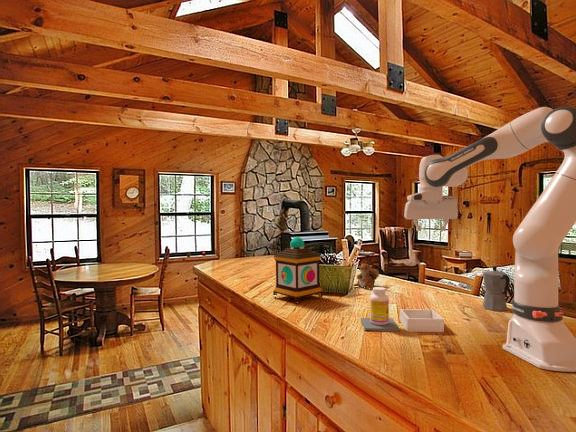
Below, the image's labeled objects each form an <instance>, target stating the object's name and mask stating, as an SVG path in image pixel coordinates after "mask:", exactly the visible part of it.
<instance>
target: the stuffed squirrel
mask: <svg viewBox="0 0 576 432" xmlns="http://www.w3.org/2000/svg"><path fill="white" fill-rule="evenodd" d="M372 267H373V265H372V264H368V263H361V265H360V268H358V271H359V272H360V273H359V274H357V275H356V279H357V282H356V283H354V284H353V285H352V287H353V286H361V287H360V288H362V287H365V288H364V289H366V288H367V289H366V290H370V289H369V288H372V287H373V286H374V285H375V282H376V280H377V278H379V277H380V275H379V274H380V271H378V270H377V268H376V269H375V268H372ZM373 288H374V287H373ZM373 288H372V289H373Z"/></svg>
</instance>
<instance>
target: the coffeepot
mask: <svg viewBox="0 0 576 432" xmlns="http://www.w3.org/2000/svg"><path fill="white" fill-rule="evenodd" d="M497 268H498V266H492V270H486V271H482V278H483V284H484V285H483V286H484V288H485V293H484V297H483V302H482V308H483V309H484V308H485V309H484V310H488V311H491V310H492V312H505V311H507V310H508V307H507V305H508V304H507V300H506V296H505V295H507V293H508V291H509V287H510V283H511V279H510V277H509V275H508V274H507V273H505V272H502V271H498V270H497Z"/></svg>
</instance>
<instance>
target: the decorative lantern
mask: <svg viewBox="0 0 576 432" xmlns="http://www.w3.org/2000/svg"><path fill="white" fill-rule="evenodd" d="M273 258H274V261H275V287H274V289H273V293H272V294H273V295H277V296H278V295H282V296H286V297H290V298H294V302H295V303H296V302H298V303H299V302H300V299H301V298H305V297H308V296H309V297H310V296H312V295H314V296H315V295H318V297H322V298H323V294H324V293H323V290H322V288H321V286H320V261H321V258H322V255H321V254H320V253H318V251H313V250H312V249H310V248H309V247H308V246H305V241H304V240H303V238H301V237H299V236H295V237H293V238H292V239H291V241H290V243H289V246H288V245H287V247H286V248H285V249H283V250H282V251H278V252H277V253H275V254H274V255H273ZM273 295H272V296H273Z"/></svg>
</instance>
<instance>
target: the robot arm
mask: <svg viewBox="0 0 576 432" xmlns="http://www.w3.org/2000/svg"><path fill="white" fill-rule="evenodd" d="M545 143H550V144H552V145H553V146H554V147H555V148H556V149H558V150H559V151H561V152H563V154H564V158H563V160H562V163H561V164H560V166H559V167H558V168H557V170H556V172H555V173H554V174H553V176H552V177H551V178H550V180H549V182H548V183H547V185H546V186H545V188H544V189H543V191H542V192H541V194H540V195H539V197H538V198H537V200H536V201H535V203H533V205H532V206H531V208H530V209H529V211H528V212H527V213H526V215H525V217H523V219H522V221H521V223H520V224H519V225H518V226H517V228H516V229H515V232H514V233H513V236H512V244H513V247H514V250H515V257H514V273H513V274H514V275H513V277H514V278H513V285H514V286H513V288H514V289H513V293H514V294H513V300H512V305H511V308H512V309H511V310H512V313H513V315H512V317H511V319H510V320H509V321H508V323H507V324H508V325H507V333H506V343H503V344H502V349H503V350H505V351H506V352H509V353H510V354H512V355H514V356H516V357H518V358H520V359H521V360H523V361H526V362H527V363H529V364H531V365H533V366H535V367H536V368H539V369H543V370H547V371H556V372H569V373H570V372H571V373H574V372H576V337H575V336H574V335H573V333H572V332H571V331H570V330H569V328H568V327H567V325H566V324H565V322H564V321H563V319H564V318H563V317H565V315H563V314H565V312H563V311H562V310H561V306H560V305H559V247H560V246H561V244H562V243H563V241H564V240H565V239H566V237H567V235H568V234H569V233H570V231H571V230H572V228H573V226H574V225H576V106H575V107H574V106H572V105H571V106H569V105H565V106H559V107H557V108H551V107H547V106H541V107H538V108H534V109H532V110H530V111H529V112H526V113H524V114H522V115H520V116H518V117H516V118H515V119H513V120H511V121H509V122H508V123H506V124H504V125H502V126H501V127H500V128H497V129H496V130H494V131H493V132H492V133H490V134H488V135H485V136H484V137H483V138H481V139H478V140H477V141H474V142H473V143H471V144H469V145H467V146H465V147H463V148H462V149H459V150H458V151H456V152H453V153H452V154H450V155H447V156H445V157H444V156H442V155H441V154H437V153H434V154H429V155H426V156H423V157H422V158H421V160H420V163H419V166H418V167H419V168H418V180H419V187H418V192H414V193H413V194H410V195H407V197H406V199H407V200H406V201H407V202H406V203H405V205H404V211H403V212H404V214H403V216H404V217H403V218H404V219H406V220H413V221H412V222H413V224H414V225H415V227H416V228H415V229H416V231H417V232H419V231H422V226H421V225H419V224H418V223H419V220H442V222H443V224H442V225H440V226H439V228H440V229H439V230H440V231H441V232H442V231H446V230H447V229H446V226H448V223H449V220H457V218H458V216H459V211H458V204H459V203H458V202H459V201H458V198H457V197H455V196H453V195H444V194H443V193H444V192H443V189H444V187H448V188H449V187H453V188H456V187H460V186H462V185H463V184H465V183H466V181H467V180H468V177H469V170H468V167H471V166H472V165H474V164H476V163H479V162H483V161H487V160H496V159H499V160H501V159H502V160H503V159H505V160H506V159H511V158H513V157H516V156H519V155H522V154H524V153H526V152H528V151H530V150H532V149H534V148H535V147H537V146H539V145H542V144H545Z"/></svg>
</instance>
